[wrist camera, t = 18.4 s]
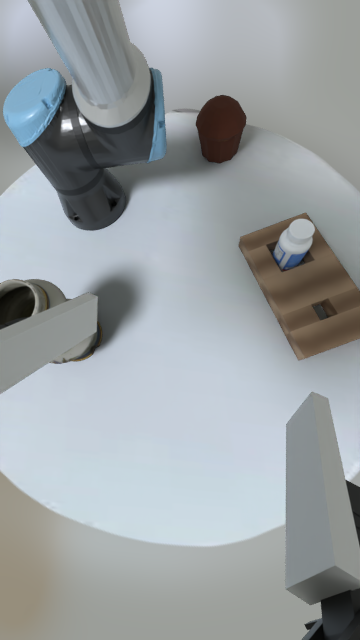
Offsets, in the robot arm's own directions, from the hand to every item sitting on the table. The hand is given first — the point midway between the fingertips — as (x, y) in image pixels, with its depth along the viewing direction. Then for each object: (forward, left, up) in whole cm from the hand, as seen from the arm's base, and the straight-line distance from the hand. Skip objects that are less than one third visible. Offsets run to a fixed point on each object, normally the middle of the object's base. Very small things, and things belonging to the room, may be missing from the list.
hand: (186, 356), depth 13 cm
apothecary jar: (-16, -21, -30) cm, 40 cm away
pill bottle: (-16, +24, -30) cm, 42 cm away
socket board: (-10, +24, -30) cm, 40 cm away
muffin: (-51, +24, -30) cm, 64 cm away
